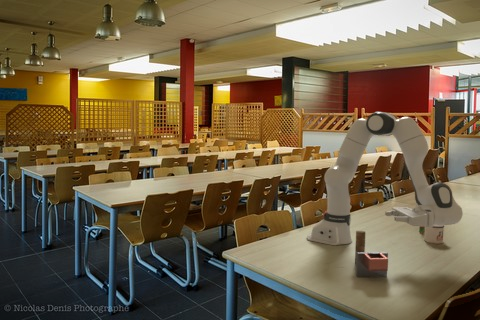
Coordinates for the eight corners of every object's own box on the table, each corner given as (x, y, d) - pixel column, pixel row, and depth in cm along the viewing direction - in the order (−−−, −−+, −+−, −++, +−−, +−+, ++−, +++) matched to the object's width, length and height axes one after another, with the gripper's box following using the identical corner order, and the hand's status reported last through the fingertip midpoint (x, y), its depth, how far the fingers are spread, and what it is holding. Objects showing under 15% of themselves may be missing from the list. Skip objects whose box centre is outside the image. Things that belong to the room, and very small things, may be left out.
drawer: (385, 275, 156) (386, 252, 155) (393, 283, 148) (394, 258, 147) (355, 275, 155) (356, 252, 155) (362, 283, 148) (363, 259, 147)
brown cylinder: (354, 264, 167) (355, 232, 166) (355, 261, 171) (356, 230, 169) (363, 265, 166) (364, 233, 164) (364, 262, 169) (366, 231, 168)
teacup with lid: (439, 245, 194) (441, 222, 193) (420, 241, 201) (422, 218, 200) (447, 240, 203) (449, 218, 202) (429, 236, 209) (430, 215, 208)
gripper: (411, 203, 177) (380, 204, 177) (435, 213, 157) (400, 214, 156) (410, 217, 178) (380, 217, 177) (434, 228, 157) (400, 229, 157)
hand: (390, 216), depth 167 cm, fingers open, 8 cm apart
